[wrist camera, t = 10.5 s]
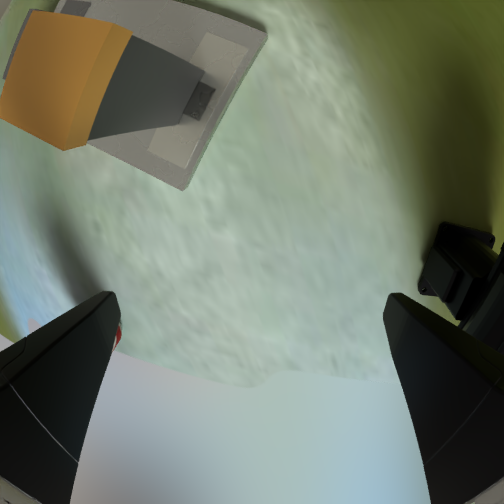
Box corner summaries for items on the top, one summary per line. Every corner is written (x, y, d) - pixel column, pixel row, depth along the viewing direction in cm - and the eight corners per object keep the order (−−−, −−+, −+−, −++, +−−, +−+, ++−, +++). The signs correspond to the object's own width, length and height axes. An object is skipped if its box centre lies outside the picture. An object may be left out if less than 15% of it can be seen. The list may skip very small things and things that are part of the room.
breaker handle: (206, 69, 16) (113, 23, 6) (177, 127, 18) (63, 150, 8) (152, 49, 15) (32, 10, 5) (125, 104, 17) (-4, 116, 7)
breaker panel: (268, 38, 16) (264, 19, 12) (187, 187, 21) (167, 203, 17) (76, -13, 14) (47, -25, 10) (25, 108, 19) (-7, 113, 15)
